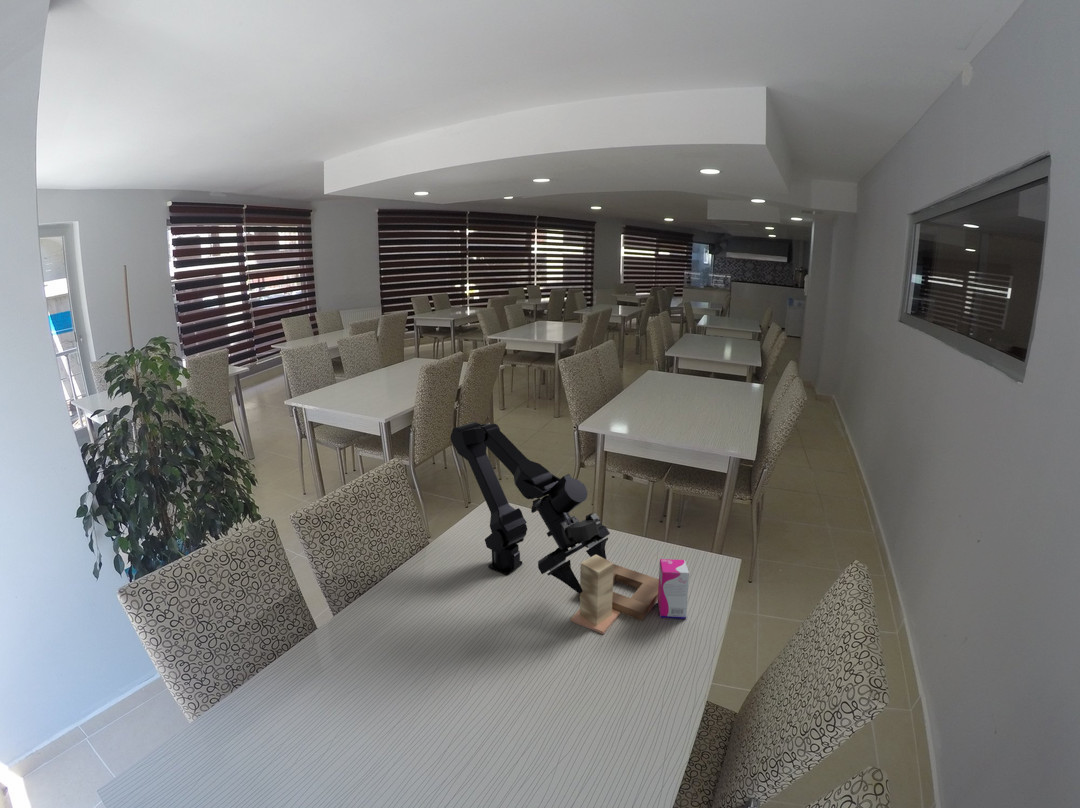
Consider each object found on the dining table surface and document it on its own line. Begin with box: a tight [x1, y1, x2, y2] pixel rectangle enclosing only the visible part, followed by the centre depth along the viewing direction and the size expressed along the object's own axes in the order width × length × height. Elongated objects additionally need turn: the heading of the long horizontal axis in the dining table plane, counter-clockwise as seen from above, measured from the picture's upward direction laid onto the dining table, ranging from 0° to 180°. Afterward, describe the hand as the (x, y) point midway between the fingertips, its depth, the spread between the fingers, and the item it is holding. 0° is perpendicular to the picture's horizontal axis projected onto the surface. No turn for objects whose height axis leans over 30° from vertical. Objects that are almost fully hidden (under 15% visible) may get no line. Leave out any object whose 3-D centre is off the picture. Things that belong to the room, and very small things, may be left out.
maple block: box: [579, 555, 615, 625], centre depth 123 cm, size 5×5×13 cm
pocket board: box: [577, 563, 659, 622], centre depth 134 cm, size 16×14×2 cm
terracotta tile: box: [570, 608, 621, 635], centre depth 125 cm, size 8×8×1 cm
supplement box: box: [657, 558, 690, 620], centre depth 126 cm, size 6×6×12 cm
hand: (594, 583), depth 123 cm, fingers open, 9 cm apart
